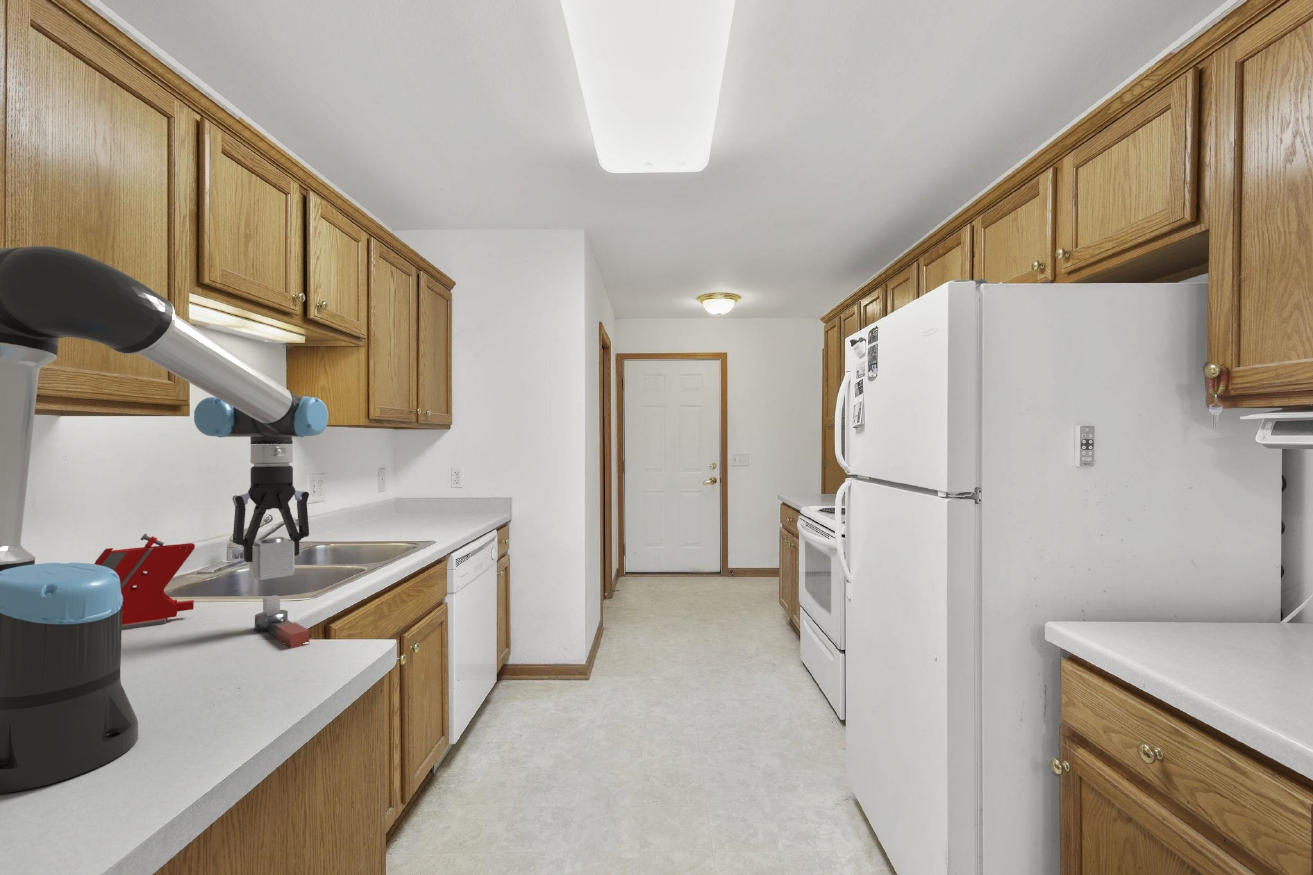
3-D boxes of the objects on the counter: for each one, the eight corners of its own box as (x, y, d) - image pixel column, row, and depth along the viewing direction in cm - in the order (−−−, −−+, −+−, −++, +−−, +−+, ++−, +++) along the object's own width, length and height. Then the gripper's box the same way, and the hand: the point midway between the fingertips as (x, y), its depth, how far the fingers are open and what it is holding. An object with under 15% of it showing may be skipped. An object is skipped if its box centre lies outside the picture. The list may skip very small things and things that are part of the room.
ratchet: (282, 650, 110) (283, 615, 110) (251, 628, 123) (251, 597, 123) (316, 642, 114) (316, 608, 114) (282, 622, 127) (282, 592, 127)
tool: (13, 640, 112) (90, 518, 118) (19, 631, 116) (93, 514, 122) (163, 665, 126) (225, 555, 132) (163, 657, 130) (224, 551, 136)
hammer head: (251, 575, 123) (251, 539, 123) (283, 570, 127) (283, 535, 128) (260, 580, 119) (260, 542, 119) (293, 574, 124) (293, 538, 124)
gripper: (222, 467, 114) (222, 585, 114) (327, 463, 128) (327, 569, 128) (212, 466, 119) (212, 579, 119) (314, 463, 133) (314, 564, 133)
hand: (272, 574), depth 123 cm, fingers closed on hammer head, 6 cm apart
